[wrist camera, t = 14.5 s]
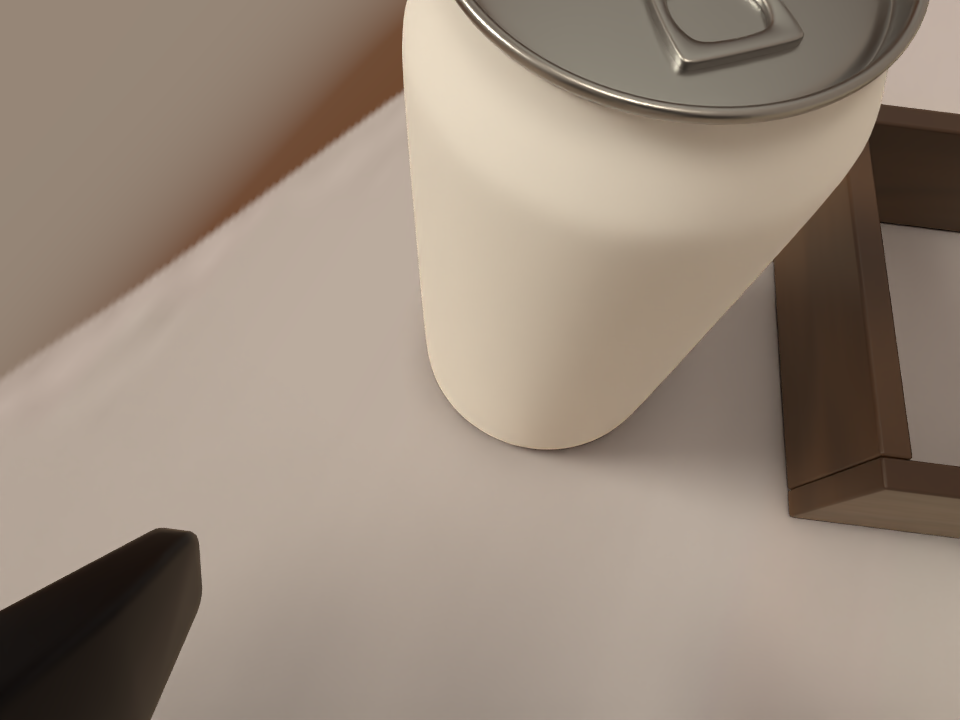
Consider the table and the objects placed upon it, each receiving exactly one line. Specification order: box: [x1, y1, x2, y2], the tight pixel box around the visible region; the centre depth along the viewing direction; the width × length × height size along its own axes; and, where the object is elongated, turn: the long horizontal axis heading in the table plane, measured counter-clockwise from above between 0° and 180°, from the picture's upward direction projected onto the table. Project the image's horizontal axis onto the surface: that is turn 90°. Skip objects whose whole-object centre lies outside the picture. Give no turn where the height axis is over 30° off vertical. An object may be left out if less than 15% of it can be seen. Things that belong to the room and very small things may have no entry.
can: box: [402, 0, 929, 450], centre depth 13 cm, size 6×6×12 cm
